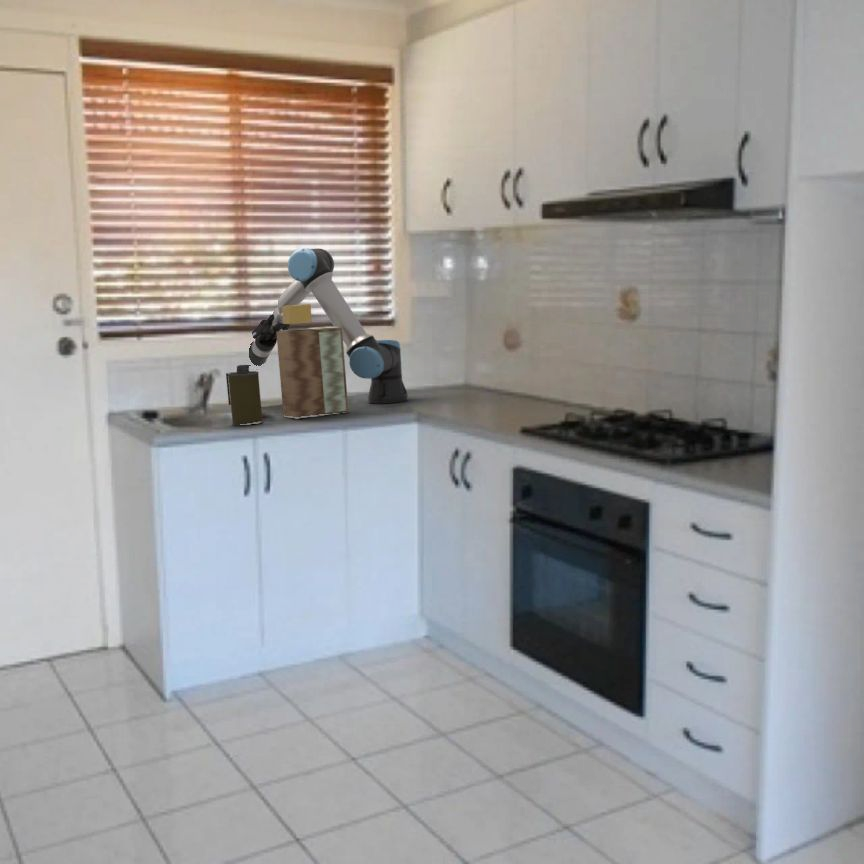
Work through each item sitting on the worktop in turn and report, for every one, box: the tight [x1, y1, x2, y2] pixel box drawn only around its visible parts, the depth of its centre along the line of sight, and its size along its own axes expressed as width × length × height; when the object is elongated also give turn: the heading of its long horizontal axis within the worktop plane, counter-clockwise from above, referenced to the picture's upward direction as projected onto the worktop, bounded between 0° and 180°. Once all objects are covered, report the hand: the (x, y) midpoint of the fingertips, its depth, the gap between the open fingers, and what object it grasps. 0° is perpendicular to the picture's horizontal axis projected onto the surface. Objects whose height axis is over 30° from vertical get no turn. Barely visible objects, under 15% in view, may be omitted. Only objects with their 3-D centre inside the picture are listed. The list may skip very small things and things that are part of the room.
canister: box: [225, 364, 263, 426], centre depth 344 cm, size 11×10×20 cm
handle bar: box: [275, 303, 313, 325], centre depth 354 cm, size 8×24×6 cm, turn 31°
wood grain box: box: [276, 326, 349, 417], centre depth 354 cm, size 20×11×30 cm, turn 121°
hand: (282, 310), depth 357 cm, fingers closed on handle bar, 3 cm apart
